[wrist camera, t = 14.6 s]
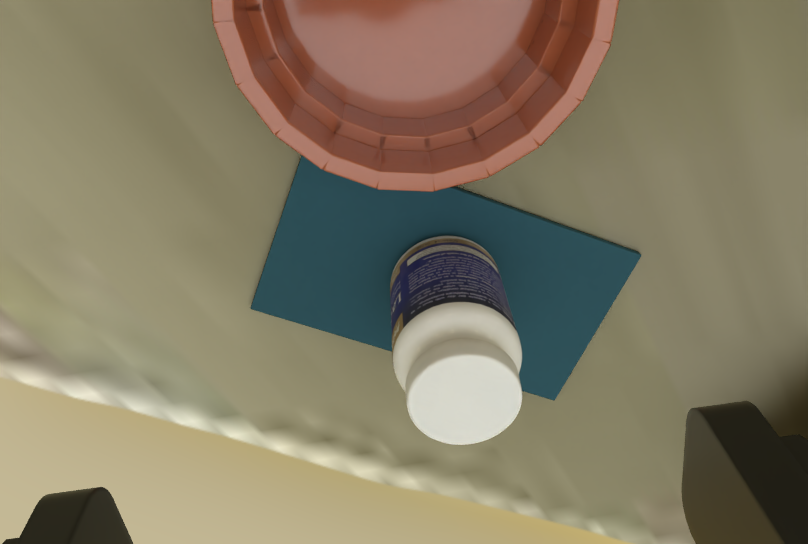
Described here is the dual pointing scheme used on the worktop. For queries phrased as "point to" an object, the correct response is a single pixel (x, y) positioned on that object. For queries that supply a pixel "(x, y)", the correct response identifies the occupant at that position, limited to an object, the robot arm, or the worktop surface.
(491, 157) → the pot
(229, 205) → the worktop surface
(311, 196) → the towel
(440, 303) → the pill bottle
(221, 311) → the worktop surface
